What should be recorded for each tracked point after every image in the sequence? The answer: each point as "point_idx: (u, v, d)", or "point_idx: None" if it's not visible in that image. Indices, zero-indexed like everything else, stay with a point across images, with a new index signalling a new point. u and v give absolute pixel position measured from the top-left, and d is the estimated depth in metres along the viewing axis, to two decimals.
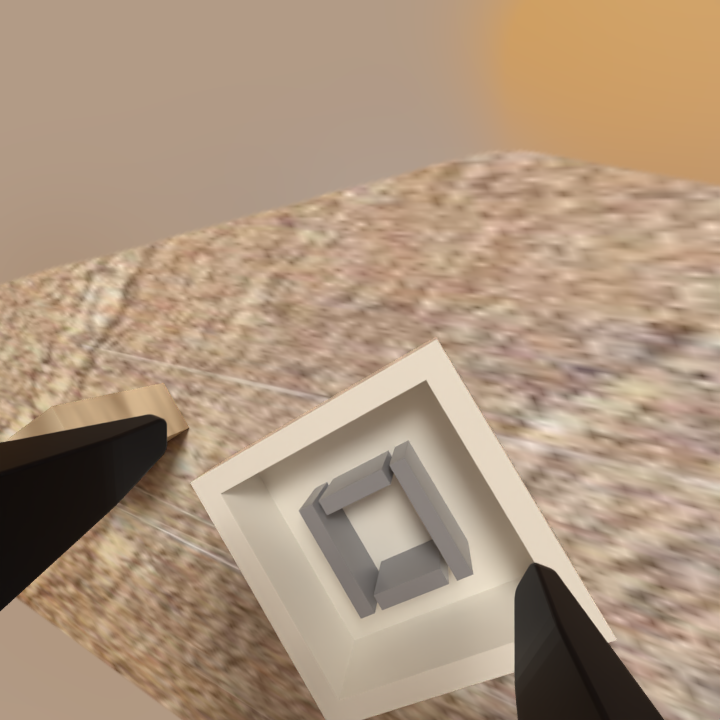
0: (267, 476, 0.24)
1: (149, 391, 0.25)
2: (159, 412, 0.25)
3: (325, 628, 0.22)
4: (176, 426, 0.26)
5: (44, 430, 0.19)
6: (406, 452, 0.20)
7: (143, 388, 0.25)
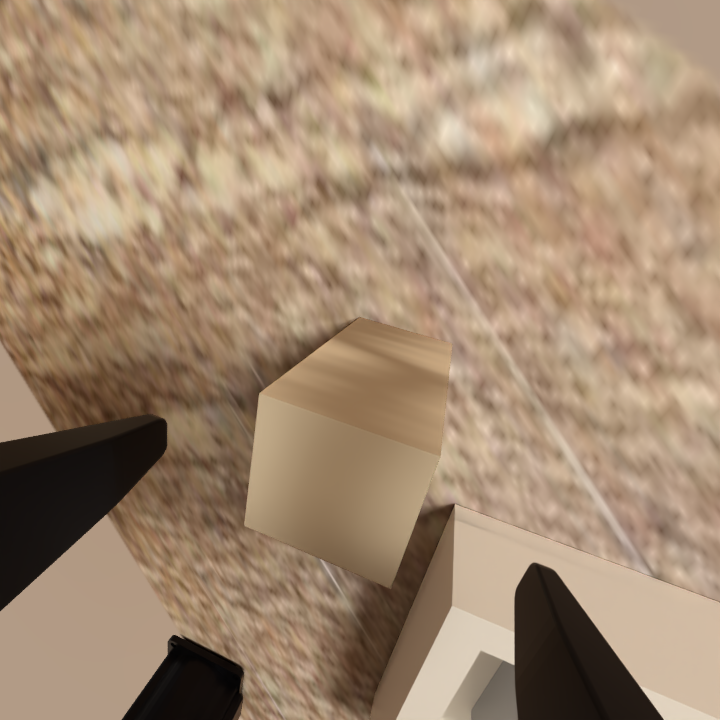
0: None
1: None
2: None
3: None
4: None
5: (367, 467, 0.07)
6: None
7: None
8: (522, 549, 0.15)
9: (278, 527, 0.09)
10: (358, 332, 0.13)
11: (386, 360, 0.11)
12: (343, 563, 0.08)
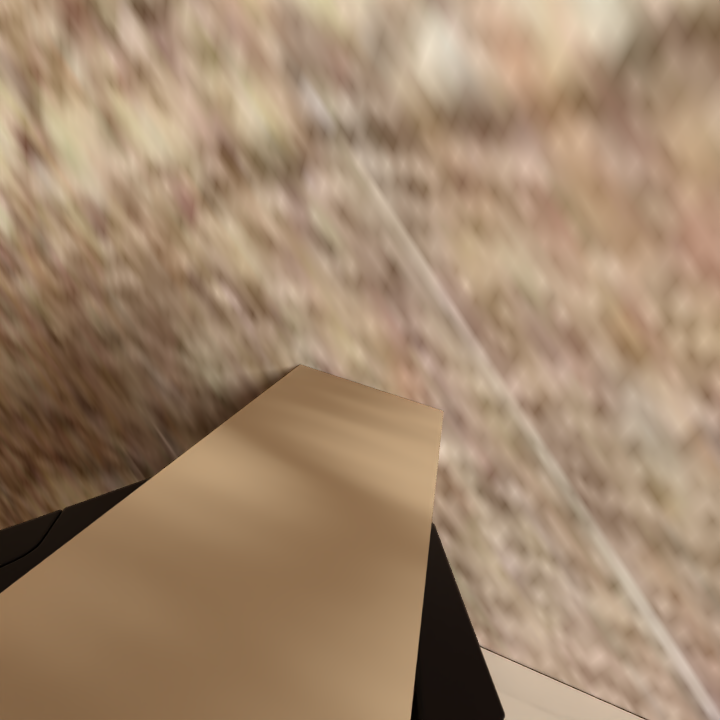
0: None
1: None
2: None
3: None
4: None
5: None
6: None
7: (437, 459, 0.07)
8: None
9: None
10: (282, 402, 0.07)
11: (309, 483, 0.05)
12: None
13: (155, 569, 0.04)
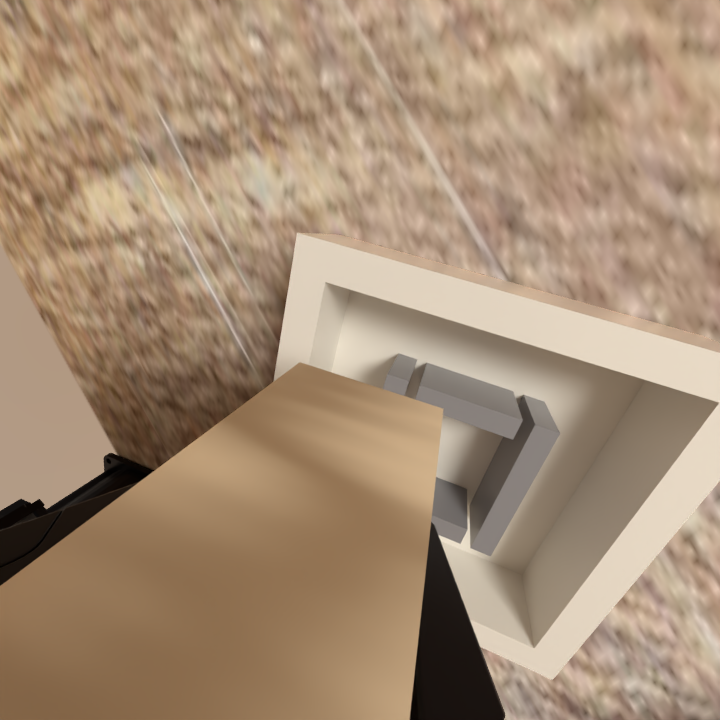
0: (359, 295, 0.17)
1: None
2: None
3: None
4: None
5: None
6: (554, 424, 0.15)
7: (437, 456, 0.07)
8: (388, 250, 0.16)
9: None
10: (281, 399, 0.07)
11: (309, 480, 0.05)
12: None
13: (153, 564, 0.04)
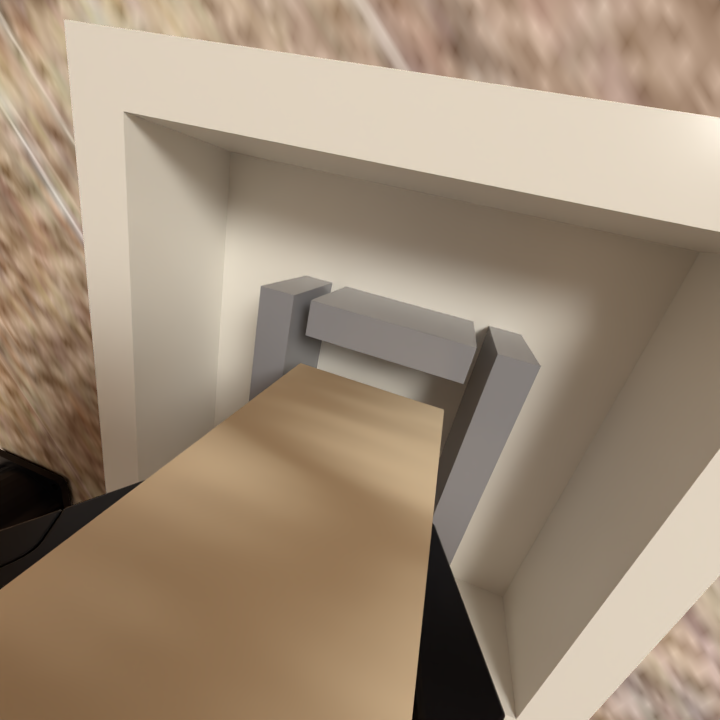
0: (242, 189, 0.12)
1: None
2: None
3: None
4: None
5: None
6: (533, 357, 0.09)
7: (438, 457, 0.07)
8: None
9: None
10: (282, 401, 0.07)
11: (310, 482, 0.05)
12: None
13: (154, 567, 0.04)
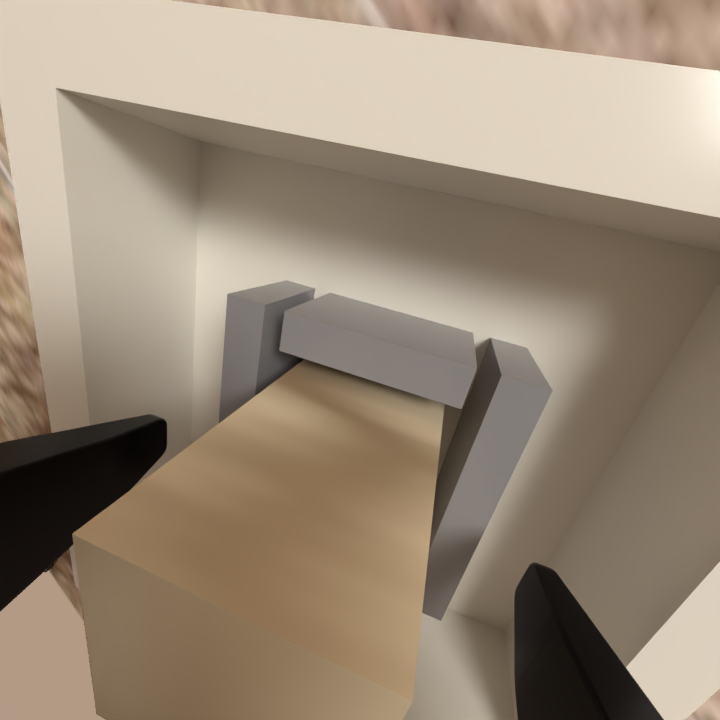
0: (214, 183, 0.10)
1: None
2: None
3: None
4: None
5: (273, 684, 0.04)
6: (542, 377, 0.08)
7: None
8: None
9: None
10: (317, 369, 0.09)
11: (347, 422, 0.07)
12: None
13: (253, 462, 0.06)
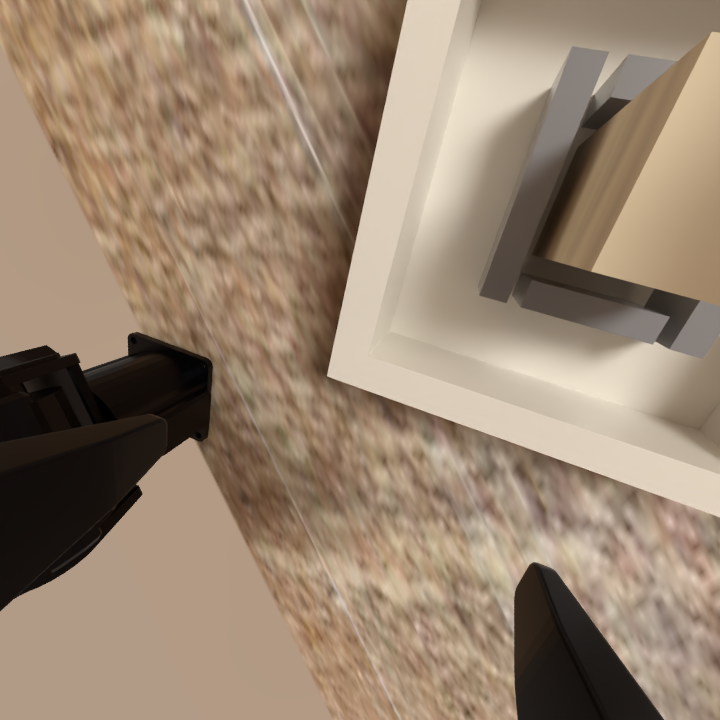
0: None
1: None
2: None
3: (397, 281, 0.15)
4: None
5: None
6: None
7: None
8: None
9: (651, 262, 0.07)
10: None
11: None
12: None
13: None
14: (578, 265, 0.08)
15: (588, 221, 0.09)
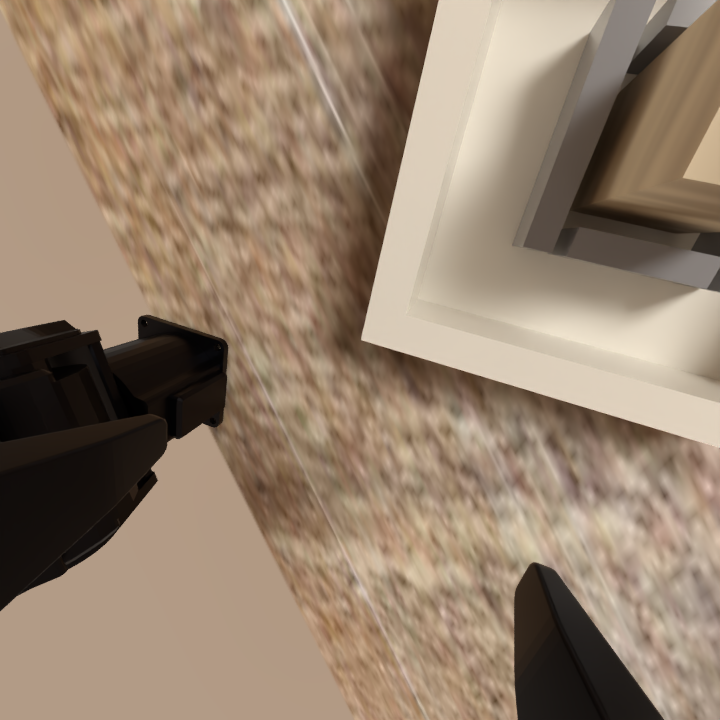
0: None
1: None
2: None
3: (431, 239, 0.14)
4: None
5: None
6: None
7: None
8: None
9: None
10: None
11: None
12: None
13: None
14: (656, 183, 0.08)
15: (661, 141, 0.08)
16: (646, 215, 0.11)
